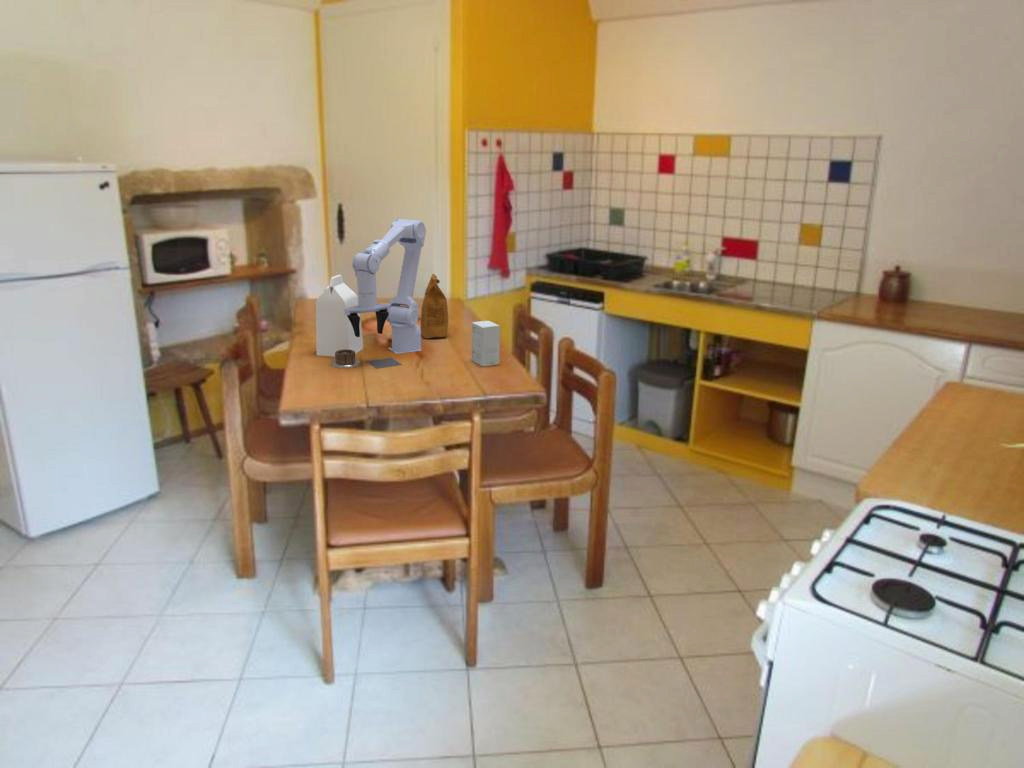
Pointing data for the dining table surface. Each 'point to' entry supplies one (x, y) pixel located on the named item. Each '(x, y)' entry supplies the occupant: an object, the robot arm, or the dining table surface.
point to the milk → (336, 320)
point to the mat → (383, 363)
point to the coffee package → (434, 311)
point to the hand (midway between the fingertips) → (368, 334)
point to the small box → (485, 343)
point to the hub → (345, 365)
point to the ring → (345, 357)
